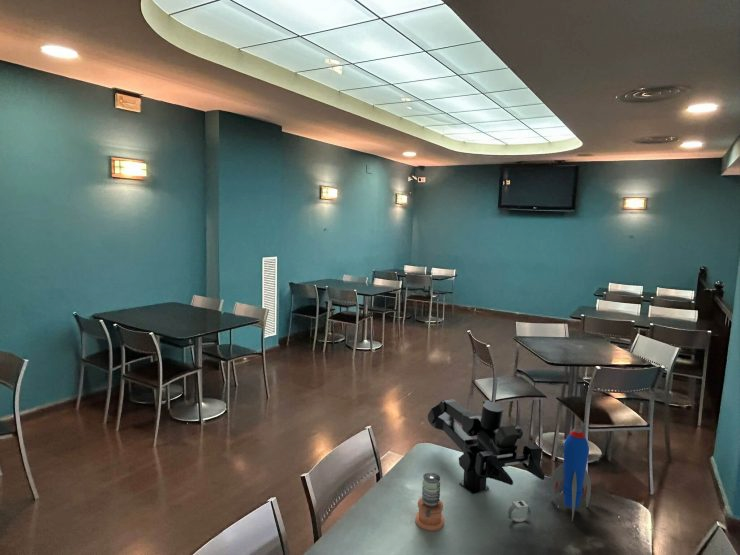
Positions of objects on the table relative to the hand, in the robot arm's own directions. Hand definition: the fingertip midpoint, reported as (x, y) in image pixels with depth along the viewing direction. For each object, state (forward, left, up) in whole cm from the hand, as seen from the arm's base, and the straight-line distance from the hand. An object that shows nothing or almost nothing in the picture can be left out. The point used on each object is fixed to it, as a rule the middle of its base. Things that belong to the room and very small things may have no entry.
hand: (528, 480), depth 113 cm
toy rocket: (-2, +21, -16) cm, 27 cm away
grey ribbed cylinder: (-17, -17, -11) cm, 26 cm away
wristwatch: (-6, +5, -16) cm, 18 cm away
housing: (-17, -17, -16) cm, 29 cm away
